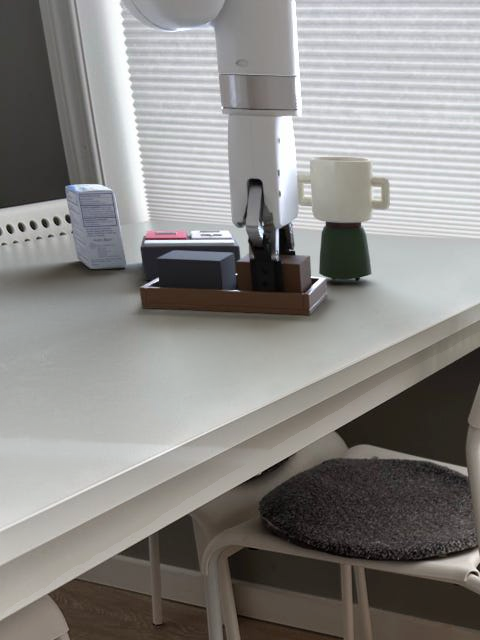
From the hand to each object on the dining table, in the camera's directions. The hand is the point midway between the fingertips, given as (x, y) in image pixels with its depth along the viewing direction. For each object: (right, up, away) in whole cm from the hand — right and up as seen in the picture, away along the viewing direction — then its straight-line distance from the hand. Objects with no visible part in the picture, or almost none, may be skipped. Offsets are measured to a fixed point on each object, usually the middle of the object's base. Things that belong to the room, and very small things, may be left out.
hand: (276, 293), depth 100 cm
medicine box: (-25, +10, +17) cm, 32 cm away
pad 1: (-8, 0, 0) cm, 8 cm away
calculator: (-14, +9, +16) cm, 23 cm away
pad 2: (0, 0, 0) cm, 0 cm away
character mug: (+5, +6, +13) cm, 16 cm away
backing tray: (-4, -1, +1) cm, 4 cm away
